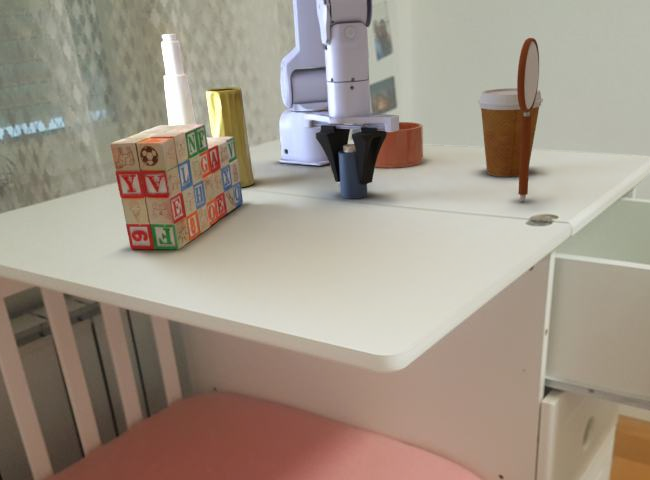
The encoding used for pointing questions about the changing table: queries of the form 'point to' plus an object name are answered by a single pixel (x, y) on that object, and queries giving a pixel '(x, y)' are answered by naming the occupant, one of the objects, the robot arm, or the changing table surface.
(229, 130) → the vase
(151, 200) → the stack of blocks
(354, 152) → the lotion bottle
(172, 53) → the cosmetic bottle
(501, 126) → the disposable coffee cup
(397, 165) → the cup
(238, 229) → the changing table surface
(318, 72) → the robot arm
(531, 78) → the magnifying glass
